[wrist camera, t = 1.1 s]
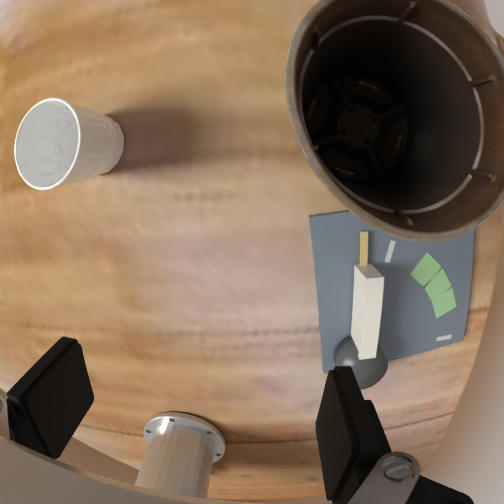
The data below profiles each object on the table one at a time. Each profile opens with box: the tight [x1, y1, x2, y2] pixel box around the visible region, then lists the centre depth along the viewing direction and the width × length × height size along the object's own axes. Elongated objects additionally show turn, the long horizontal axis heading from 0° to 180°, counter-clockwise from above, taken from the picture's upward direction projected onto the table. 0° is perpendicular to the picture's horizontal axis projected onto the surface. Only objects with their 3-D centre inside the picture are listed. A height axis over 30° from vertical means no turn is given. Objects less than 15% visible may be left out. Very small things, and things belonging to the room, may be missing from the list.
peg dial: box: [333, 231, 388, 390], centre depth 31 cm, size 17×6×4 cm, turn 4°
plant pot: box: [285, 0, 504, 242], centre depth 21 cm, size 16×16×16 cm
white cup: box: [15, 98, 124, 190], centre depth 26 cm, size 8×8×10 cm
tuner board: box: [309, 210, 474, 373], centre depth 33 cm, size 19×20×1 cm
